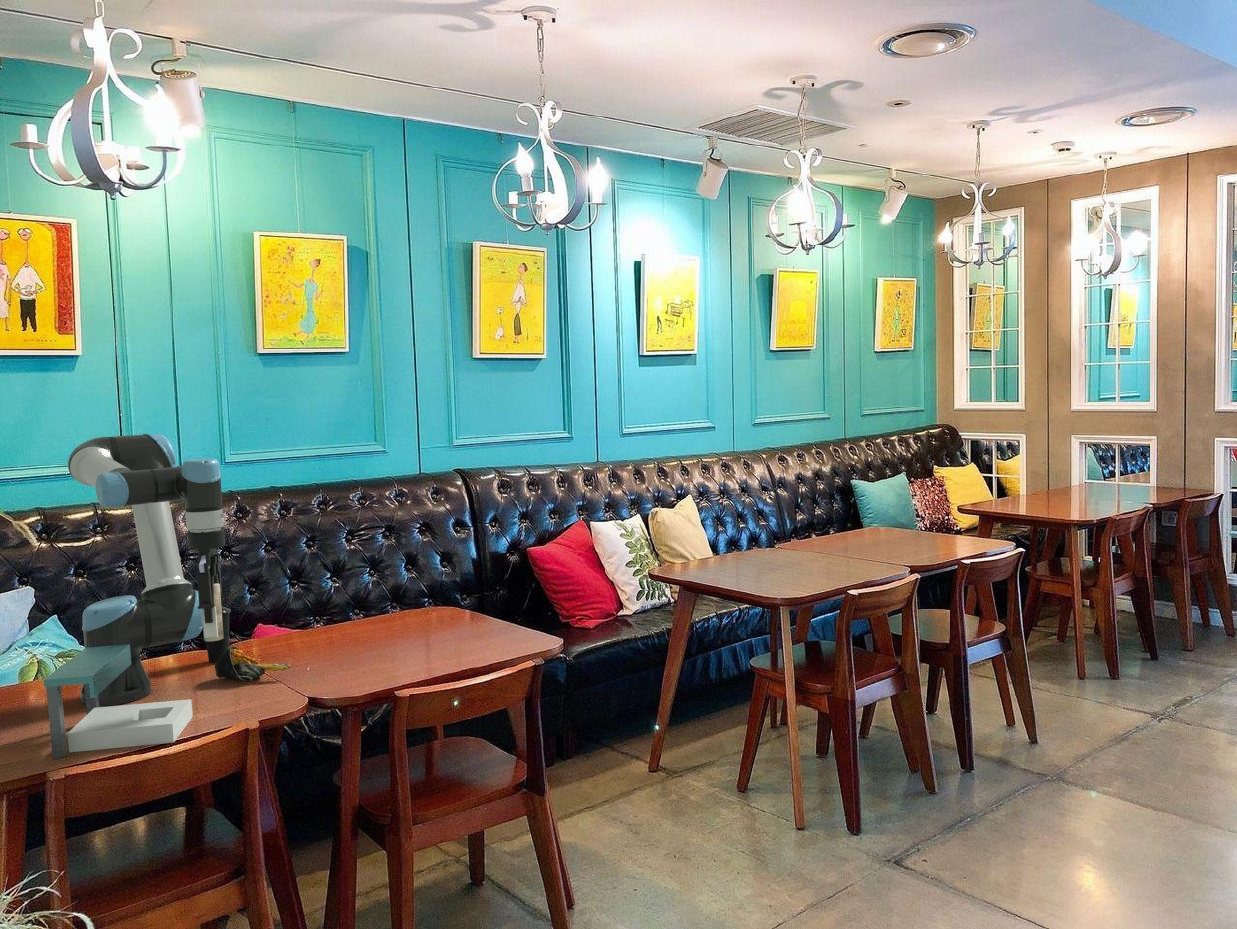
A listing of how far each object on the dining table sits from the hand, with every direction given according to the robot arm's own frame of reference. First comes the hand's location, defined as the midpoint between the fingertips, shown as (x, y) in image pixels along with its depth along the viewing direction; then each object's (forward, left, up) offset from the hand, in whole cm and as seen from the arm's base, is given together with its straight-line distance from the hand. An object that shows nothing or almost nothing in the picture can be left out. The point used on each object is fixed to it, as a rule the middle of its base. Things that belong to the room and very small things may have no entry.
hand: (213, 634), depth 217 cm
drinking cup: (-47, -10, -19) cm, 52 cm away
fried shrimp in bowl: (-27, +2, -19) cm, 33 cm away
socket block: (+7, -16, -19) cm, 25 cm away
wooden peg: (0, 0, -1) cm, 1 cm away
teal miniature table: (+7, -23, -19) cm, 31 cm away
